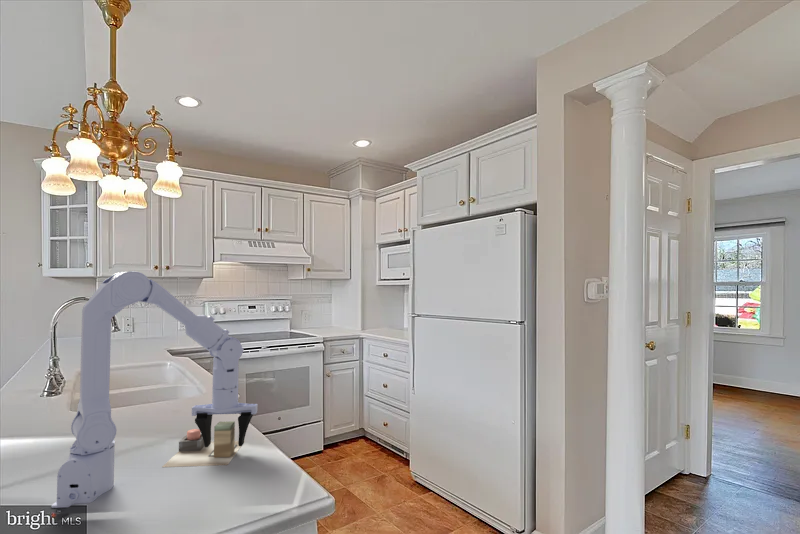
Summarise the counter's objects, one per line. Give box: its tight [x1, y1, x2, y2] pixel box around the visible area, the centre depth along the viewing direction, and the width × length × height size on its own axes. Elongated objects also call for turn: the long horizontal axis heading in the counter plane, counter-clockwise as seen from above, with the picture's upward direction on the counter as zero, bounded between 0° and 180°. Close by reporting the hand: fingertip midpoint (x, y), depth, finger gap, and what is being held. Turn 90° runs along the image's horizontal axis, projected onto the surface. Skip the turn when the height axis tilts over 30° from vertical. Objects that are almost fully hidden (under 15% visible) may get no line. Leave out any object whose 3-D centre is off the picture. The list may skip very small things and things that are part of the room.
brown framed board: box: [161, 433, 246, 468], centre depth 104 cm, size 18×16×3 cm
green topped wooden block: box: [213, 420, 236, 457], centre depth 103 cm, size 4×4×7 cm
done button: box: [186, 428, 201, 440], centre depth 108 cm, size 3×3×3 cm
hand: (224, 445), depth 103 cm, fingers open, 7 cm apart
